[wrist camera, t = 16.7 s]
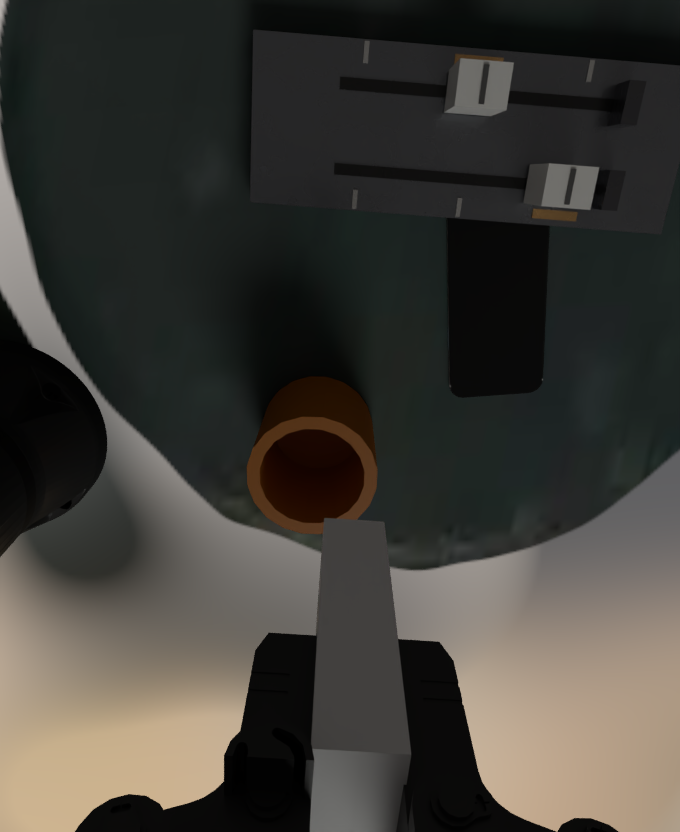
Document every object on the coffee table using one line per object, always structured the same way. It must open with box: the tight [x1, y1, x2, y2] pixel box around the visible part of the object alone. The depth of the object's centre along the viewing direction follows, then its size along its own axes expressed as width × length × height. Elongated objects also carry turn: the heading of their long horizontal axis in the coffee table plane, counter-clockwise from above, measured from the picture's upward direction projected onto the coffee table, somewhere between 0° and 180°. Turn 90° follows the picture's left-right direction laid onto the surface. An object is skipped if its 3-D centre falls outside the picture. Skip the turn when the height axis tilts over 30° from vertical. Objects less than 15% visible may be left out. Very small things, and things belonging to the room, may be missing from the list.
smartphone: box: [447, 218, 549, 398], centre depth 45 cm, size 7×1×15 cm
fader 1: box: [444, 58, 514, 116], centre depth 36 cm, size 3×2×4 cm
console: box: [250, 30, 680, 234], centre depth 40 cm, size 28×10×4 cm, turn 86°
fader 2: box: [523, 163, 599, 210], centre depth 38 cm, size 3×2×4 cm
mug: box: [247, 376, 377, 534], centre depth 46 cm, size 9×12×9 cm
